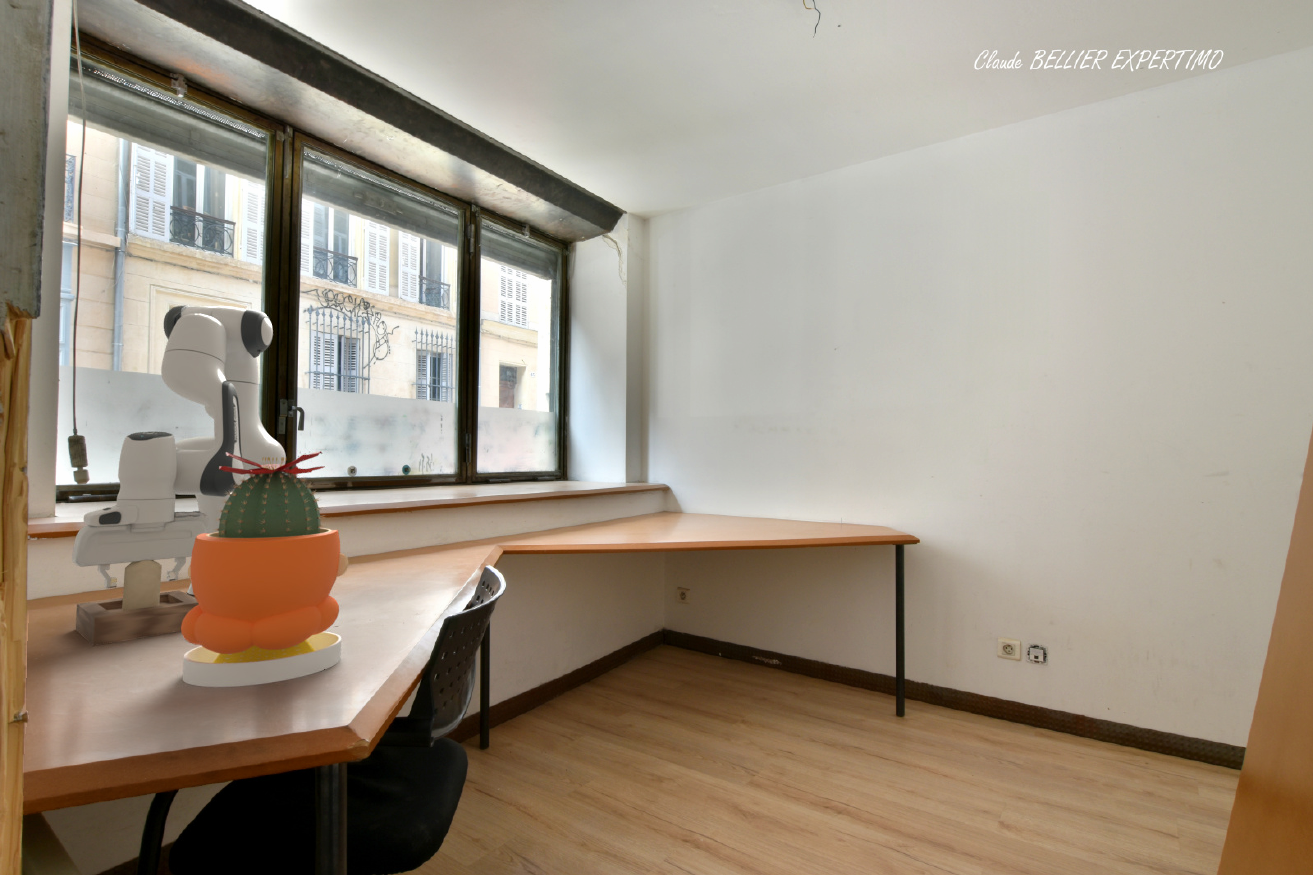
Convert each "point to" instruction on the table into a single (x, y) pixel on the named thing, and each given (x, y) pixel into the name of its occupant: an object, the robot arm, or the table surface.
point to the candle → (141, 585)
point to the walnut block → (132, 618)
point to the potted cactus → (264, 584)
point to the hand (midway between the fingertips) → (142, 583)
